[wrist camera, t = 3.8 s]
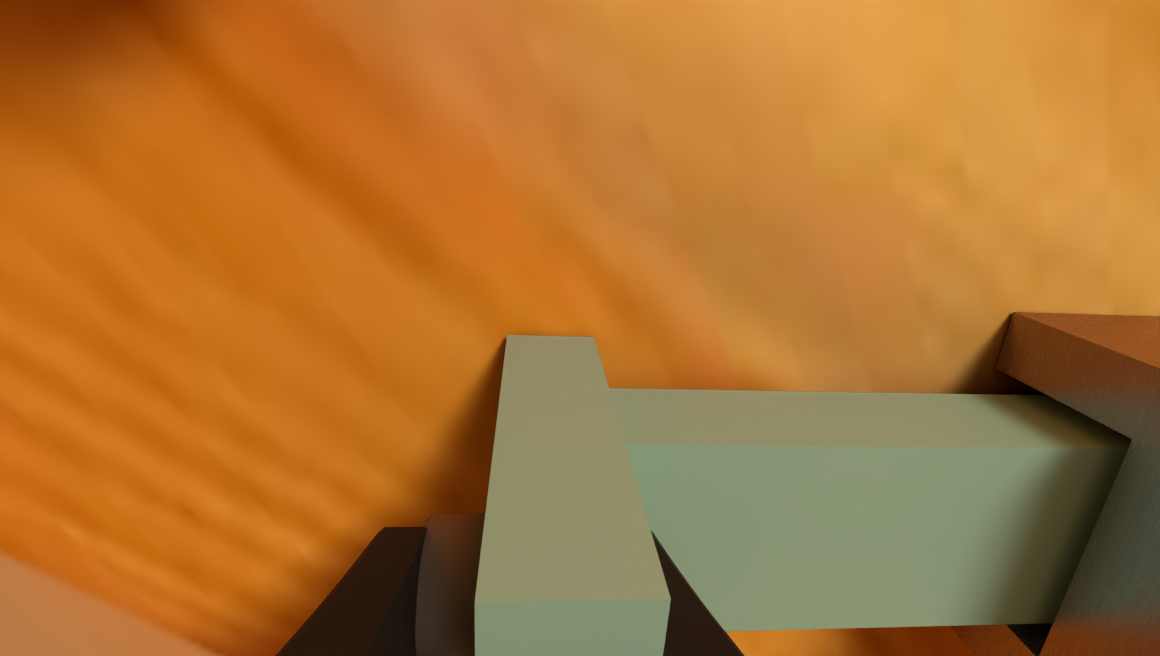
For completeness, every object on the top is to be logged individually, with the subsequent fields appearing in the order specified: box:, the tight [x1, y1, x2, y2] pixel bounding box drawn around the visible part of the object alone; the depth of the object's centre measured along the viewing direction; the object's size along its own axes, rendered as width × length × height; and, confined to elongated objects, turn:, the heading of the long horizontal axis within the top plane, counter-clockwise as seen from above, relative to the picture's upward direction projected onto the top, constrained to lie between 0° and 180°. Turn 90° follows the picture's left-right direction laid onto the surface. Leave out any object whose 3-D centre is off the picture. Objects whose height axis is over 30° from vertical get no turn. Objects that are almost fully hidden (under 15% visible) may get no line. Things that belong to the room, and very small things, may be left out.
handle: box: [415, 335, 1132, 656], centre depth 9 cm, size 14×6×6 cm, turn 87°
